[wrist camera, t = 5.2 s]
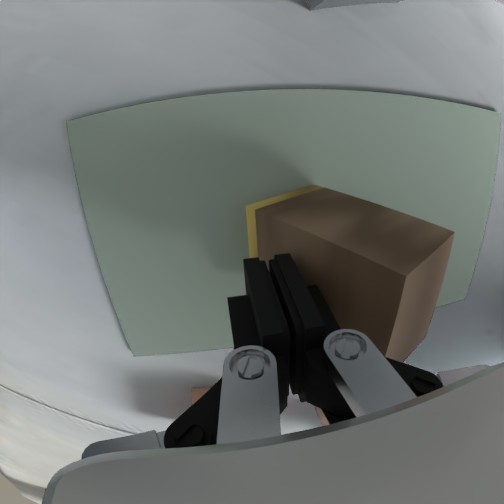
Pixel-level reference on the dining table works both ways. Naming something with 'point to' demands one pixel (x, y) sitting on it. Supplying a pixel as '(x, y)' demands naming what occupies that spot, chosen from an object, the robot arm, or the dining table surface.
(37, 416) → the dining table surface
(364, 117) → the rubber mat
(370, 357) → the robot arm
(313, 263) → the walnut block
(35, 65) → the dining table surface
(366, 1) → the slate block
